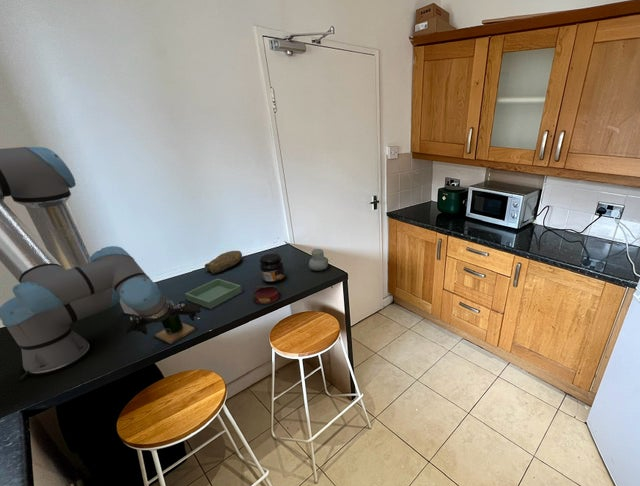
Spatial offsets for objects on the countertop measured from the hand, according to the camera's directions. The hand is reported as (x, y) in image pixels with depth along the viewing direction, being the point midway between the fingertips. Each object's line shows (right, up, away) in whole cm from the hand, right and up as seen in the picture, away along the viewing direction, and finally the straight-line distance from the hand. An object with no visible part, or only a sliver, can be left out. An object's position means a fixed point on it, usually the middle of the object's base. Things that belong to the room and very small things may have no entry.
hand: (169, 323), depth 109 cm
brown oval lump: (-12, +20, +58) cm, 62 cm away
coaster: (-3, -5, +7) cm, 9 cm away
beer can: (-3, -4, +6) cm, 8 cm away
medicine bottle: (-27, +2, +21) cm, 34 cm away
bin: (-2, +7, +30) cm, 31 cm away
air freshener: (+38, +19, +55) cm, 70 cm away
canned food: (+22, +6, +29) cm, 37 cm away
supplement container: (+19, +14, +44) cm, 50 cm away
